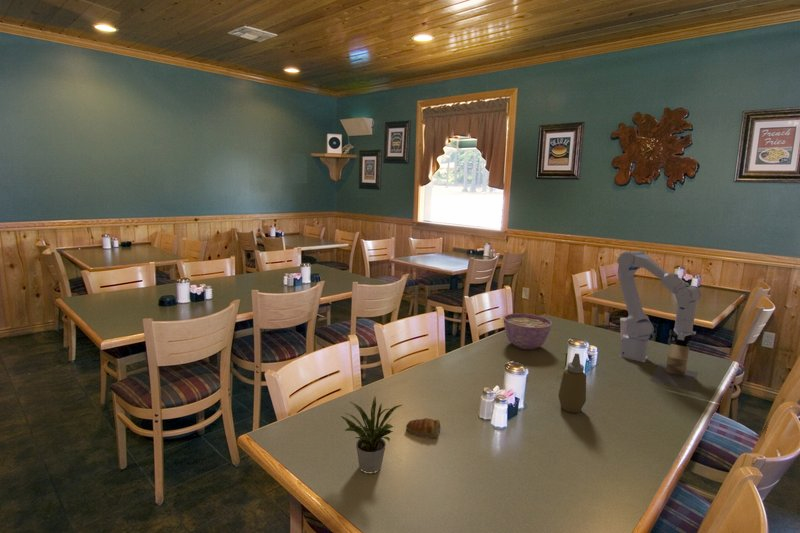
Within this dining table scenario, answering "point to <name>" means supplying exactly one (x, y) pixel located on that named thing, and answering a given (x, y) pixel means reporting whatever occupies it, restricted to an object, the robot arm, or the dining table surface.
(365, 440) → the house plant
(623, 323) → the smoothie
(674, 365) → the birch block
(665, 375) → the rubber mat
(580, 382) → the squeeze bottle
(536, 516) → the dining table surface
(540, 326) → the bowl of food
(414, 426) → the pastry
